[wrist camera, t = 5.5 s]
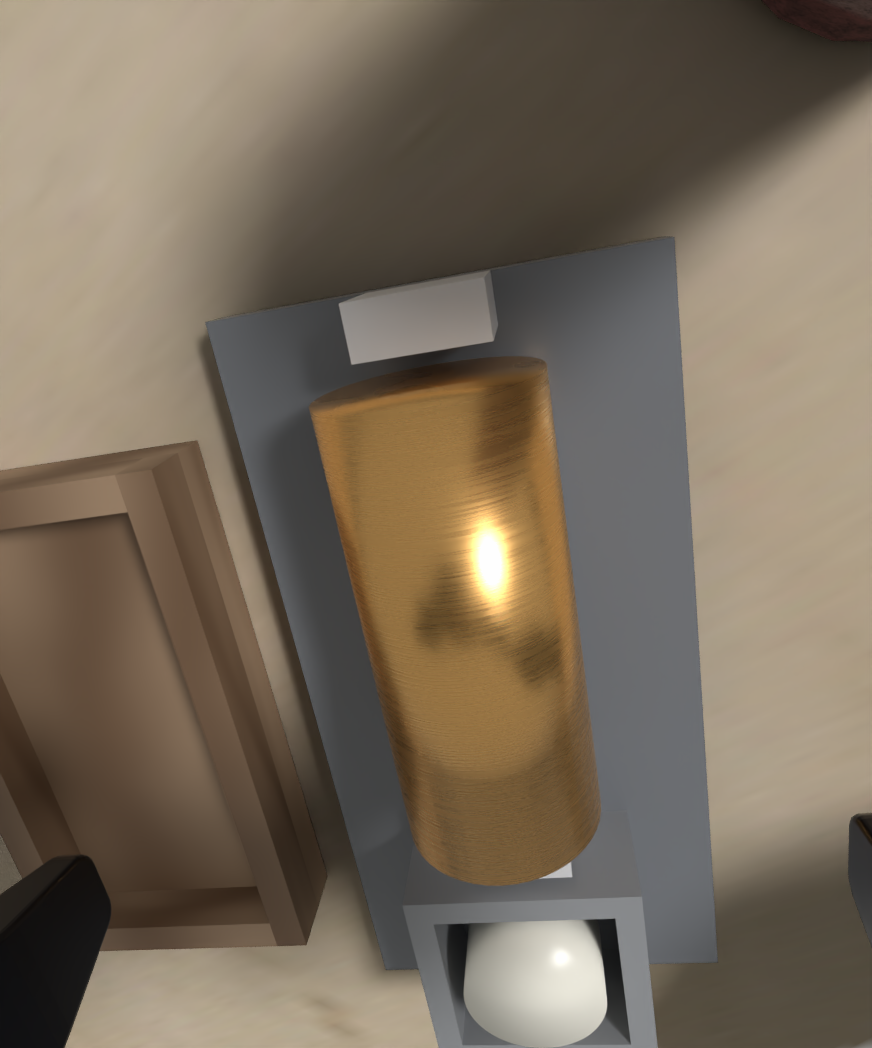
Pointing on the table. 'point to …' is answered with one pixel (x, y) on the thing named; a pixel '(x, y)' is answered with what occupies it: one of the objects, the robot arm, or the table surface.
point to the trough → (145, 707)
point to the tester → (600, 588)
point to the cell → (468, 609)
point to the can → (828, 17)
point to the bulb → (536, 980)
